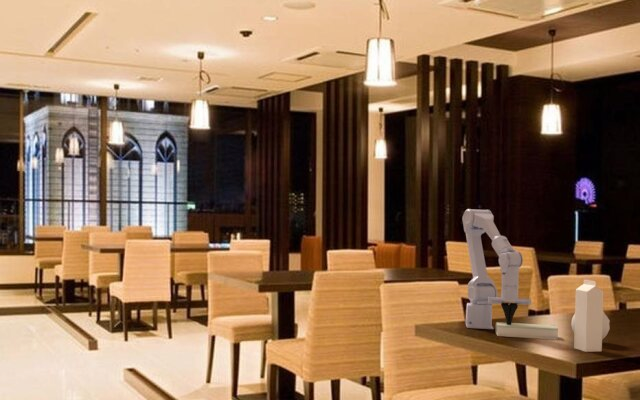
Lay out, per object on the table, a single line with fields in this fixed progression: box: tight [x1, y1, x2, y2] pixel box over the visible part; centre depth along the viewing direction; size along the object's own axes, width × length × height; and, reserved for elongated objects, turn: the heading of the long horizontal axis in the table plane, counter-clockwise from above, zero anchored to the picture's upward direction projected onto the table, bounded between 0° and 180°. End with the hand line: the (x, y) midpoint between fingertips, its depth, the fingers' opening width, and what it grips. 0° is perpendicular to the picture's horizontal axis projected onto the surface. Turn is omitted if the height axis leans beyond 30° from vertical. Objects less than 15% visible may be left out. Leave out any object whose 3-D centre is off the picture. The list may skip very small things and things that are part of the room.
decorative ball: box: [570, 310, 611, 340], centre depth 244 cm, size 12×12×12 cm
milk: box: [573, 279, 604, 353], centre depth 230 cm, size 6×6×22 cm
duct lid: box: [495, 321, 559, 332], centre depth 252 cm, size 20×7×1 cm, turn 82°
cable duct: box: [495, 324, 559, 340], centre depth 252 cm, size 20×7×3 cm, turn 82°
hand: (508, 324), depth 253 cm, fingers closed, pressing on duct lid
